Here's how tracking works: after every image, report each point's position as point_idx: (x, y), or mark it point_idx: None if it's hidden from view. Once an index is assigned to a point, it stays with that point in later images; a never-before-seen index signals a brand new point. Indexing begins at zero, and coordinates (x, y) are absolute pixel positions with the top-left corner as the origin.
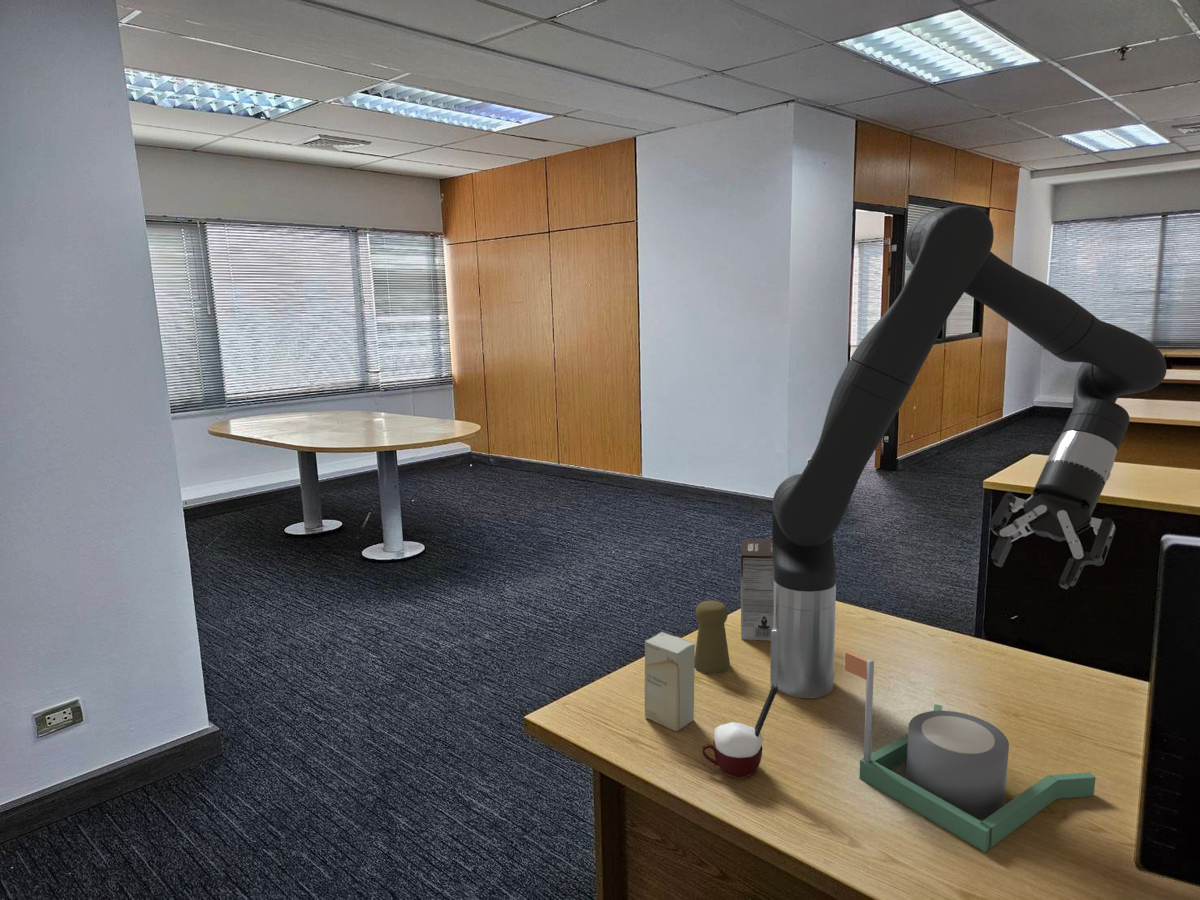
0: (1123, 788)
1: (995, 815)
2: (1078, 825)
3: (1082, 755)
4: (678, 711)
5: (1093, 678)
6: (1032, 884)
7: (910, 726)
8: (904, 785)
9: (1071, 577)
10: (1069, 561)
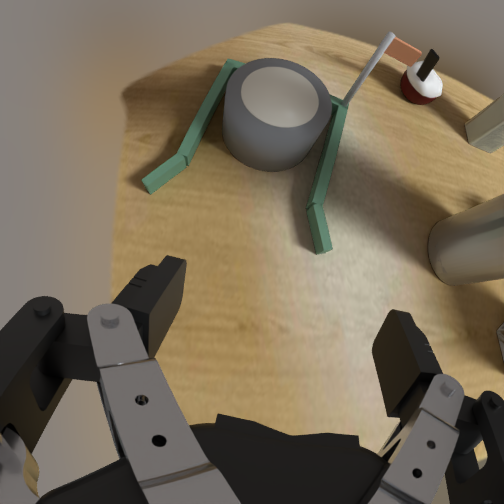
0: (119, 220)
1: (224, 76)
2: (159, 134)
3: None
4: (474, 117)
5: None
6: (191, 58)
7: (326, 92)
8: None
9: (146, 273)
10: (149, 303)
